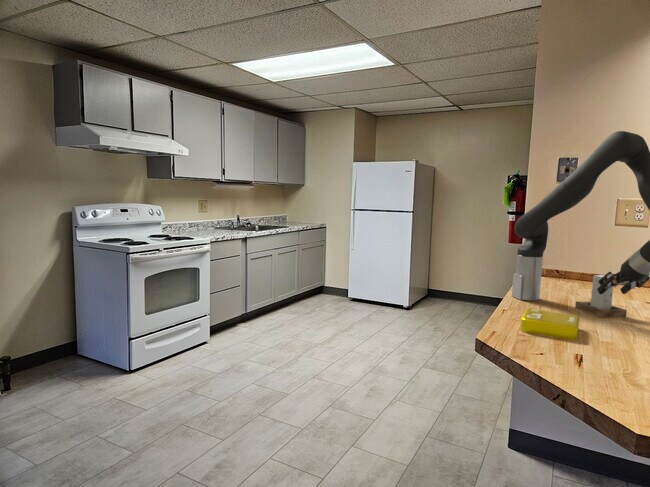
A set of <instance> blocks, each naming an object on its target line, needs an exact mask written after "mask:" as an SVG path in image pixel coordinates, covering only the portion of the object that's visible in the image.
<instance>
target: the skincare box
mask: <svg viewBox="0 0 650 487" xmlns="http://www.w3.org/2000/svg"><path fill="white" fill-rule="evenodd" d="M605 275H606V274H596V275H593V276H592V287H591V298H590V302H591V306H593V307H596V308H598V309H611V305H612V302H613V290H614V287H610V288H608V289H607V290H606V291H605V292H604V293H603V294H599V292H598V290H597V289H598V288H599V287H600V284H599V282H598V281H599V280H600V279H601V278H602V277H603V276H605ZM610 284H611V282H610V283H609V284H608V285H610Z"/></svg>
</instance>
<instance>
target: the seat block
mask: <svg viewBox="0 0 650 487" xmlns="http://www.w3.org/2000/svg"><path fill="white" fill-rule="evenodd" d="M574 304H575V306H574V308H575V309H576V310H579V311H580V312H583V313H586V314H589V315H592V316H594V317H597V318H601V319H602V318H603V319H604V318H607V319H608V318H613V319H614V318H627V311H628V310H627V309H624V308H620V307H618V306H616V305H611V309H598V308H596V307H593V306H591V301H575V303H574Z"/></svg>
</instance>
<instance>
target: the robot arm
mask: <svg viewBox="0 0 650 487" xmlns="http://www.w3.org/2000/svg"><path fill="white" fill-rule="evenodd" d="M616 162H620V163H624V164H625V165H626V166H627V167H628V168H629V169H630V170H631V171H632V172H633V174H634V177H635V180H636V182H637V188H638V192H639V195H640V198H641V199H642V201H643V203H644V205H646V207H647V209H648V211H649V212H650V149H649V146H648V144H647V141H646V140H645V138H644V137H643V136H641V135H640V134H637V133H633V132H629V131H626V130H618V131H614V132H613V133H611V134H609V135H608V136H607V137H606V138H605V139H604V140H603V141H602V142H601V143H600V144H599V145H598V147H597V148H596V149H594V150H593V152H592V153H591V154H590V155H589V156H588V158H587V159H586V160H584V161H583V162H582V163H581V164H580V165H579V166H577V168H576V169H575V170H574V171H572V172H571V174H569V175H568V176H567V177H566V178H564V179H563V180H562V181H561V182H560V183H559V184H558V185H556V187H554V189H553V190H552V191H550V192H549V193H548V194H547V195H546V196H544V198H543V199H541V201H540V202H539V203H537V204H536V205H534V206H533V207H532V208H531V209H530V210H528V211H527V212H526V213H524V214H523V215H521V216H520V217H519V218H517V220H516V222H515V224H514V226H513V227H514V234H515V235H516V236H517V237H518V238H521V239H524V243H523V244H522V245H521V246H519V247H517V255H516V265H515V266H516V267H515V272H514V273H513V275H512V276H513V277H512V289H511V291H512V292H511V296H512V297H513V298H514V299H517V300H519V301H531V302H533V301H539V300H540V298H541V297H540V295H541V285H542V282H541V281H542V274H543V273H542V271H543V261H544V260H543V259H544V253H545V251H546V249H547V244H548V238H549V237H548V236H549V223H548V221H549V220H551V219H552V218H554V217H556V216H558V215H560V214H563V213H564V212H566V211H568V210H570V209H572V208H573V207H575V206H576V205H578V204H579V203H580V202H581V201H583V199H585V198H586V197H588V196H589V194H590V193H591V192H592V191H593V189H594V187H595V186H596V182H597V180H598V179H599V177H600V176H601V174H603V172H604V171H606V170H607V169H608V168H610V166H612V165H614V164H616ZM604 275H605V276H603V277H602V278H601V279H600V280H599V281H598V282H599V284H600V287H599V288H598V289H597V290H598V292H599V294H603V293H604V292H605V291H606V290H607V289H608V288H610V287H613V288H617V287H619V286H621V285H623V286H622V287H621V288H619V290H620V293H621V294H623V295H626V294H627V293H629V292H630V291H631V290H633V289H636V288H638V289H640V288H642V287H643V286H644V285H645V284H646V283H647V282H648V281H649V280H650V239H649V240H647V242H645V243H644V244H643V245H642V246H641V247H639V249H638V250H636V251H635V252H633V254H631V255H630V256H629V257H628V258H627V259H626V260H625V261H624V262H623V263H622V264H621V266H620V271H618V272H616V273H612V271H608V272H607V273H605V274H604ZM610 282H611V284H610V285H608V284H609V283H610Z"/></svg>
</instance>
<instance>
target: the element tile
mask: <svg viewBox="0 0 650 487" xmlns="http://www.w3.org/2000/svg"><path fill="white" fill-rule="evenodd" d="M579 324H580V317H579V316H578V315H575V314H568V313H560V312H554V311H548V310H541V309H537V308H536V309H535V308H527V309H526V310H525V311H524V313H523V315H522V316H521V318H520V327H519V330H520V331H521V332H524V333H527V332H528V333H527V334H534V335H539V336H546V337H550V336H551V338H555V337H557V339H561V338H562V339H561V340H567V339H568V340H569V341H576V340H578V335H579V334H578V333H579V326H580V325H579Z"/></svg>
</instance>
